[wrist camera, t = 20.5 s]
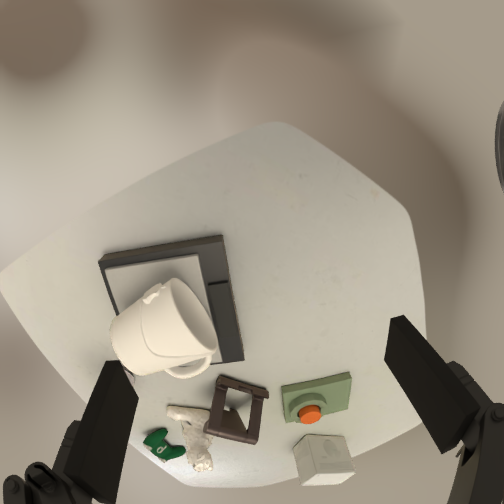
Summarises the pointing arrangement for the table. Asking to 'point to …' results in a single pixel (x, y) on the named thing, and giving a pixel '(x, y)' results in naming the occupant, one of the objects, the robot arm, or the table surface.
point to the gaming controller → (162, 446)
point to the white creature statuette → (194, 435)
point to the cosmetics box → (323, 460)
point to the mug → (165, 332)
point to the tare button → (309, 414)
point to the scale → (187, 270)
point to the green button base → (317, 396)
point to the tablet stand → (235, 413)
